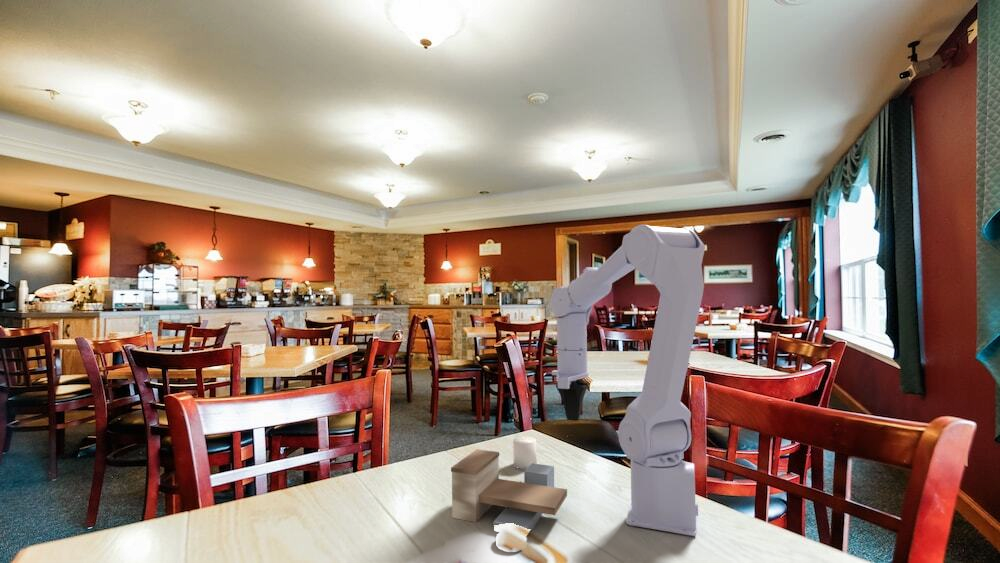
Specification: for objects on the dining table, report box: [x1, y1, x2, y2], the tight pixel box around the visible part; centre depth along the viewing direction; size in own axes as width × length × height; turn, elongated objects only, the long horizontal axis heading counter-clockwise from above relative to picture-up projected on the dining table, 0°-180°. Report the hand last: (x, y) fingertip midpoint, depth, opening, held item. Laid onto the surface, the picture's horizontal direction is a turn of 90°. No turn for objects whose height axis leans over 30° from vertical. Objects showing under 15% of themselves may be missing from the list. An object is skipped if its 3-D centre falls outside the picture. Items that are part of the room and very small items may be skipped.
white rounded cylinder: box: [512, 436, 538, 470], centre depth 93 cm, size 5×5×5 cm
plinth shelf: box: [450, 449, 568, 523], centre depth 72 cm, size 16×9×8 cm, turn 67°
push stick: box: [492, 463, 555, 531], centre depth 73 cm, size 5×16×4 cm, turn 157°
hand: (573, 419), depth 89 cm, fingers closed
